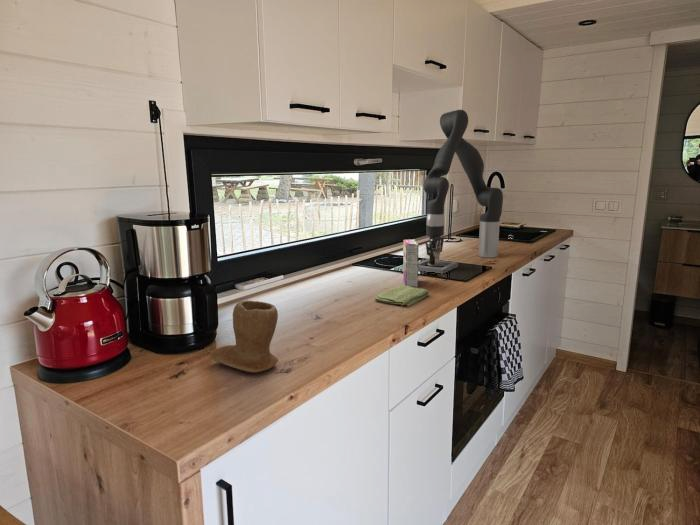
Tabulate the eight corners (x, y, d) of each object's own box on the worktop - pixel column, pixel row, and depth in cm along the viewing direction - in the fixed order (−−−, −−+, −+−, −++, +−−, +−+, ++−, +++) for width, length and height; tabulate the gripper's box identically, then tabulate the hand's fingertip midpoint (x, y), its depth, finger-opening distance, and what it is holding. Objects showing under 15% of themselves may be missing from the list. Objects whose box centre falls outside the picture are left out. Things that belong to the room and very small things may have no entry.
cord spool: (431, 263, 213) (431, 247, 212) (442, 264, 210) (443, 248, 208) (425, 265, 208) (426, 249, 207) (437, 267, 205) (438, 250, 204)
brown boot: (290, 362, 113) (288, 301, 110) (253, 381, 104) (249, 314, 100) (246, 349, 122) (243, 291, 119) (208, 365, 112) (203, 303, 109)
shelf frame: (426, 263, 220) (426, 259, 220) (458, 266, 212) (458, 262, 212) (410, 270, 207) (410, 265, 206) (442, 274, 198) (442, 269, 198)
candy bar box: (402, 280, 190) (402, 239, 186) (415, 280, 190) (415, 239, 186) (405, 287, 179) (405, 244, 176) (418, 287, 179) (419, 244, 175)
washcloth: (372, 302, 161) (372, 293, 161) (399, 291, 175) (399, 282, 175) (406, 309, 154) (406, 299, 153) (432, 296, 168) (432, 288, 167)
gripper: (434, 222, 213) (433, 259, 217) (420, 225, 202) (419, 265, 205) (450, 223, 209) (448, 261, 213) (436, 226, 198) (435, 267, 201)
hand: (434, 263), depth 209 cm, fingers closed on cord spool, 4 cm apart
